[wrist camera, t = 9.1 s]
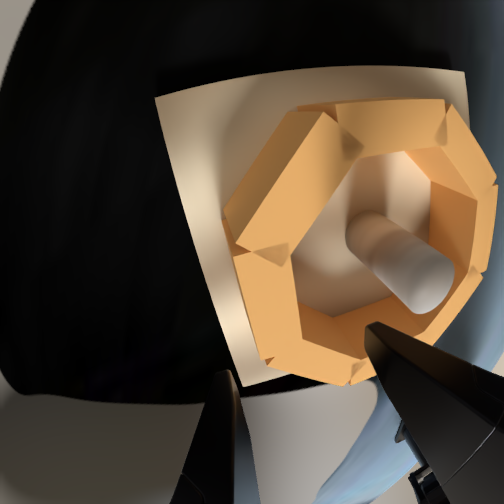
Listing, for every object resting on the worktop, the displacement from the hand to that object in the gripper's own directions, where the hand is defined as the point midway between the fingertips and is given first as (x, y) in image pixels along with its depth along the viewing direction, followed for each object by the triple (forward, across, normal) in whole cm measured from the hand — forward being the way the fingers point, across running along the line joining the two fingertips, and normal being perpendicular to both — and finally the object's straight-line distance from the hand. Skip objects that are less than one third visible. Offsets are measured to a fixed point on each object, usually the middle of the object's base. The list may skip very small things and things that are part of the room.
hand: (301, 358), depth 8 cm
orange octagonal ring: (+6, -5, 0) cm, 8 cm away
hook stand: (+7, -6, 0) cm, 9 cm away
